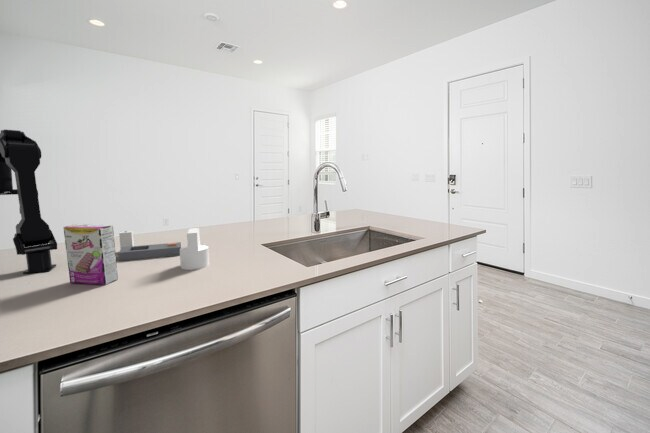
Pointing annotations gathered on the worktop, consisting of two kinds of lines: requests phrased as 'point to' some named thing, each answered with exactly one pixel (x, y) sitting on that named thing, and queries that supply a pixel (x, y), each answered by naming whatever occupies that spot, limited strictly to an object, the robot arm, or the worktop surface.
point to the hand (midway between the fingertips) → (3, 214)
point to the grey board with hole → (149, 251)
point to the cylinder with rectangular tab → (194, 252)
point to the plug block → (126, 239)
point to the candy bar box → (91, 254)
